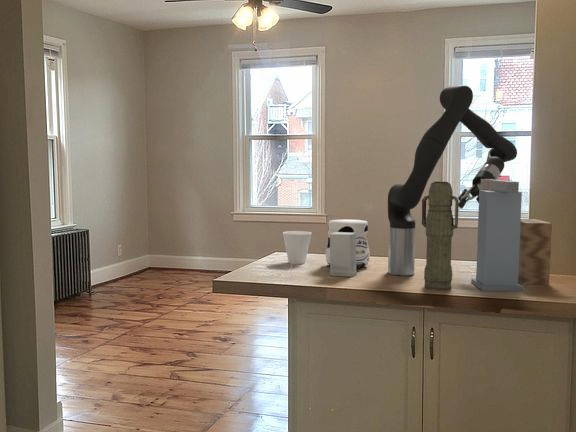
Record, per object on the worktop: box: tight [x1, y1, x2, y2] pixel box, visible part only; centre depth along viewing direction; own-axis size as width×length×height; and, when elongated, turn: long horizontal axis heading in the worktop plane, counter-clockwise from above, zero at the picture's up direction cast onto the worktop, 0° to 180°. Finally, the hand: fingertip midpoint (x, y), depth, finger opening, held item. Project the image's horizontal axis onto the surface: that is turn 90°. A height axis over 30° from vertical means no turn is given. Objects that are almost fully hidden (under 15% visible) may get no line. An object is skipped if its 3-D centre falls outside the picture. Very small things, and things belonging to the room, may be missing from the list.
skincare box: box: [329, 232, 357, 278], centre depth 221 cm, size 8×7×16 cm
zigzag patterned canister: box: [518, 218, 553, 285], centre depth 213 cm, size 9×14×21 cm, turn 179°
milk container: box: [325, 218, 371, 269], centre depth 239 cm, size 17×17×18 cm
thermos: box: [421, 181, 460, 291], centre depth 200 cm, size 9×12×35 cm
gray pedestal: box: [471, 190, 524, 292], centre depth 201 cm, size 13×13×32 cm
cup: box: [282, 230, 313, 265], centre depth 247 cm, size 12×12×12 cm
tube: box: [480, 179, 520, 193], centre depth 202 cm, size 28×4×4 cm, turn 179°
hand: (468, 204), depth 220 cm, fingers open, 8 cm apart
